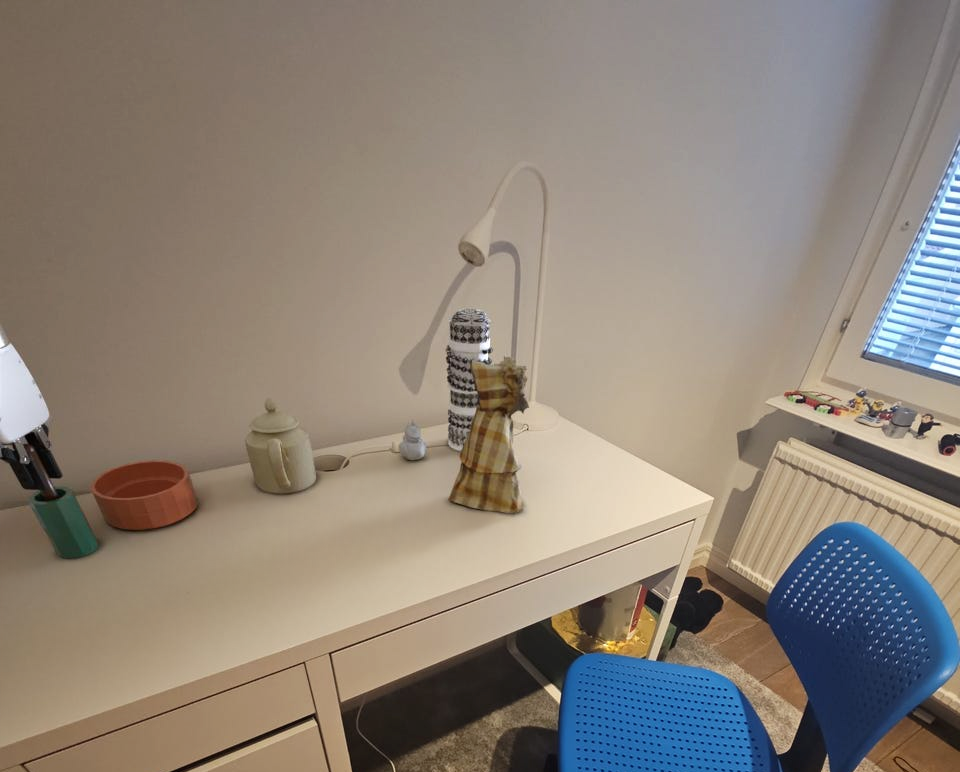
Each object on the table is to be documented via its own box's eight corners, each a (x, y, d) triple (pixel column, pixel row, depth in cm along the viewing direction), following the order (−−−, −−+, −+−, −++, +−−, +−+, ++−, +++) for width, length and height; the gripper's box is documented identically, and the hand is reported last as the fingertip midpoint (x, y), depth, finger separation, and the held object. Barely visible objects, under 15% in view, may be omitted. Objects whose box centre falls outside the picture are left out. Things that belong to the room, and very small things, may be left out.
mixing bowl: (88, 532, 89) (71, 497, 85) (132, 491, 99) (118, 458, 95) (177, 535, 89) (164, 501, 85) (211, 494, 100) (201, 461, 96)
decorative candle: (475, 432, 125) (478, 304, 108) (497, 447, 119) (503, 314, 102) (439, 439, 121) (436, 308, 104) (459, 455, 115) (460, 319, 99)
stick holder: (50, 558, 83) (18, 503, 77) (70, 539, 87) (42, 485, 81) (86, 559, 83) (58, 504, 77) (105, 540, 87) (79, 487, 81)
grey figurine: (406, 465, 111) (404, 425, 105) (394, 453, 115) (391, 414, 110) (431, 461, 113) (430, 421, 107) (418, 449, 117) (416, 410, 112)
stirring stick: (67, 548, 84) (12, 446, 74) (74, 542, 85) (21, 441, 75) (79, 549, 84) (26, 447, 74) (85, 542, 85) (34, 441, 75)
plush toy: (468, 466, 109) (465, 335, 88) (537, 479, 106) (550, 347, 86) (445, 513, 101) (436, 381, 81) (519, 528, 99) (528, 396, 78)
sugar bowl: (338, 490, 102) (325, 406, 92) (282, 508, 96) (262, 421, 86) (299, 463, 110) (283, 383, 100) (245, 478, 104) (223, 395, 95)
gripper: (-17, 320, 72) (51, 457, 84) (-122, 356, 60) (-24, 510, 72) (41, 322, 72) (101, 459, 84) (-51, 358, 60) (34, 512, 72)
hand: (43, 482), depth 78 cm, fingers closed
